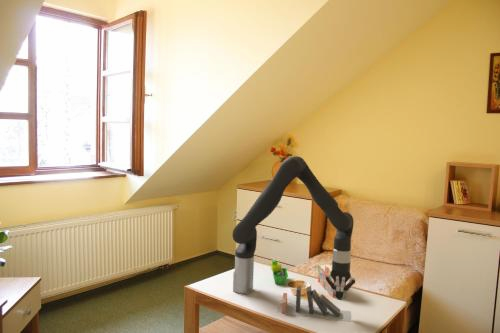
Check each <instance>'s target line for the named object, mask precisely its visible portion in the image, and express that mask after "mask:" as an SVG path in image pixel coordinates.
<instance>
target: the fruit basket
mask: <svg viewBox="0 0 500 333" xmlns="http://www.w3.org/2000/svg"><path fill="white" fill-rule="evenodd" d="M270 266H271V268H270V270H271V271H272V276H273V279H274V284H275V285H286V283H287V280H288V277H289V274H288V268H286V267H282V264H281V263H280V262H278V261H277V260H276V259H273V260H271V262H270Z"/></svg>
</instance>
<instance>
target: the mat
mask: <svg viewBox="0 0 500 333" xmlns="http://www.w3.org/2000/svg"><path fill="white" fill-rule="evenodd" d="M277 309H278V310H277V313H278V314H282V302H279V306H278V308H277ZM285 315H294V316H300V317H302V316H303V317H310V318H317V319H324V320H325V319H326V320H333V321H343V322H349V323H350V322H352V315H351V310H344V309H343V310H342V309H340V316H339V317H337V316H336V315H334V314H333V313H332V312H331V311H330V310H329V309H327V314H326V315H323V314H322V312H321V310H320V309H319V307H318V306H314V313H313V314H310V313H309V305H303V304H300V312H299V313H298V312H296V304H292V303H287V306H286V314H285Z"/></svg>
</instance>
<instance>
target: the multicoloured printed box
mask: <svg viewBox="0 0 500 333" xmlns="http://www.w3.org/2000/svg"><path fill="white" fill-rule="evenodd" d="M317 270H318V274H317V282H318V283H319V285H320V286H322V288H323V289H324V290H325V291H326V292H327V293H328V294H329V296H331V297H332V298H333V299H334V298H335V299H336V290H334V289H332V288H331V286H330V285H329V283H328V282H327V280H326V275H330V273H331V271H332V264H327V263H326V264H325V263H324V264H318V269H317ZM331 281H332V282H333V284H334V285H335V286H336V282H335V281H334V280H333V278H332V277H331ZM346 285H347V282H346V283H344V287H345V286H346ZM340 286H341V283H339V291H340ZM345 297H346V291H343V298H345Z"/></svg>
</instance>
